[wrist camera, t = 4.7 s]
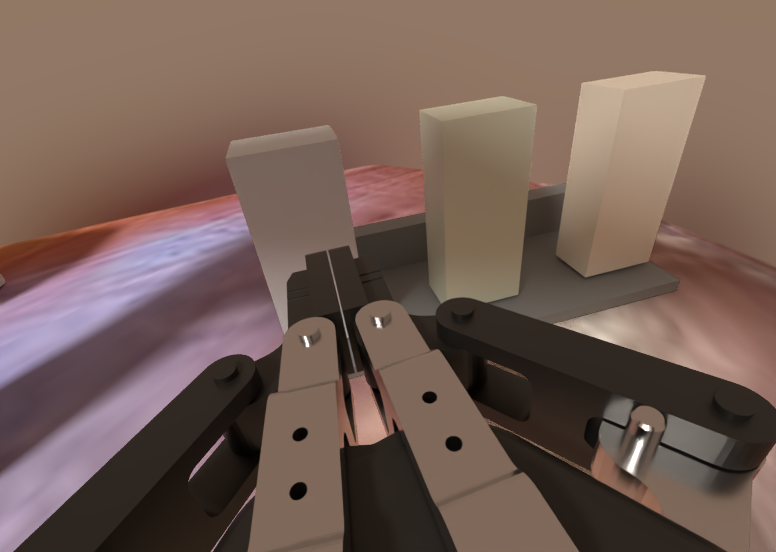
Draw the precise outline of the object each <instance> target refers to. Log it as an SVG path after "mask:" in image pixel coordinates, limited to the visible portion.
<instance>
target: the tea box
mask: <svg viewBox="0 0 776 552" xmlns="http://www.w3.org/2000/svg"><path fill="white" fill-rule="evenodd" d="M5 283H6V282H5V279H4V278H3V277H2V275H1V274H0V287H1V286H2V285H4V284H5Z"/></svg>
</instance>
